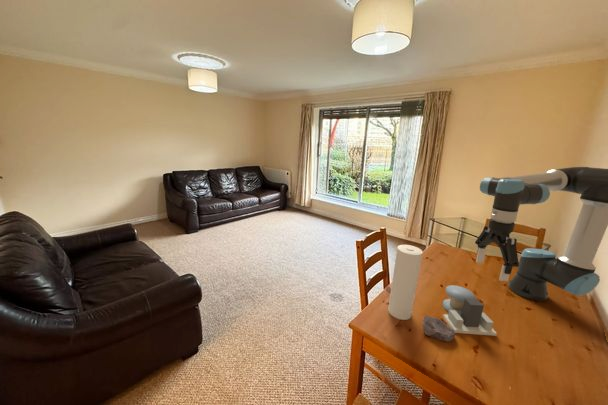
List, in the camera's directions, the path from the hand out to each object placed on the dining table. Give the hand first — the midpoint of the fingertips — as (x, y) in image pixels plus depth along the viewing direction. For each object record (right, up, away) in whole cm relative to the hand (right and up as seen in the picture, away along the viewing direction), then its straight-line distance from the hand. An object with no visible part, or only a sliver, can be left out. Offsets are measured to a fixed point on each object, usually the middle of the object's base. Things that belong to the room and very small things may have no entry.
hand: (490, 270), depth 98 cm
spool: (-6, -21, +13) cm, 25 cm away
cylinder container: (-33, -21, +9) cm, 40 cm away
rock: (-23, -24, -2) cm, 33 cm away
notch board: (-7, -23, +2) cm, 24 cm away
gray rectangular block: (-7, -22, +2) cm, 23 cm away
